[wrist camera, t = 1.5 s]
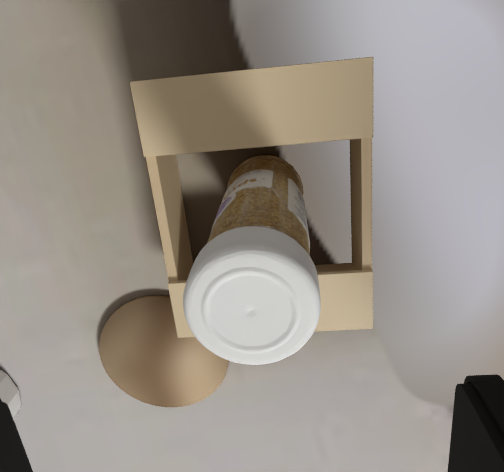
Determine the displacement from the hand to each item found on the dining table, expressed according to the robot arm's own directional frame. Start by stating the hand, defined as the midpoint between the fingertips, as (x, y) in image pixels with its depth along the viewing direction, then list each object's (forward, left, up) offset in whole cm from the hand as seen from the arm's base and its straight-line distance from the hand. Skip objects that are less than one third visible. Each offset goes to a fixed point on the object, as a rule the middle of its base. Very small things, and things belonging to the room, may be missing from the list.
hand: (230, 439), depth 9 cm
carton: (0, 0, -19) cm, 19 cm away
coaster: (+8, +11, -19) cm, 23 cm away
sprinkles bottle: (0, 0, -19) cm, 19 cm away
